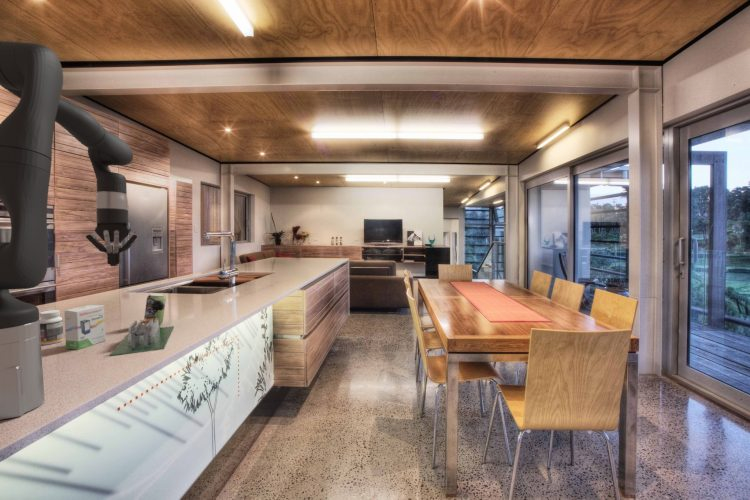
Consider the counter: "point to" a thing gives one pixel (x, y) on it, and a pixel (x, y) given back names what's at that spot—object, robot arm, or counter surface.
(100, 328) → the ink box
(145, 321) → the grey and orange bar
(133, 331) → the heatsink board
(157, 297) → the beverage can
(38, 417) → the counter surface
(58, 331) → the pill bottle
